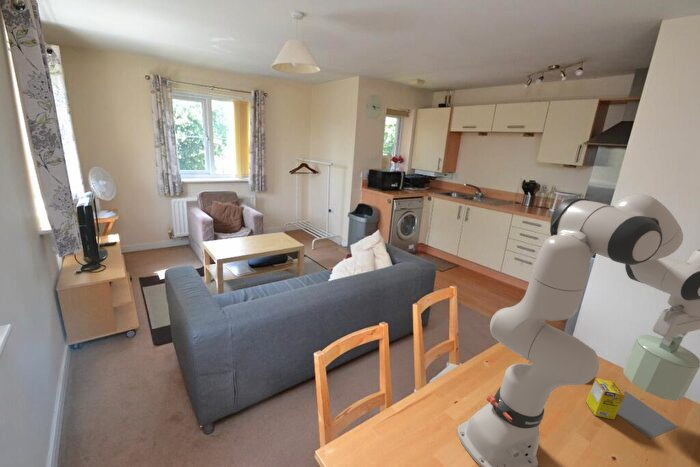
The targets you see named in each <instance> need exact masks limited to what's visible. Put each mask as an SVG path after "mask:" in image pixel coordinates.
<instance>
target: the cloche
mask: <svg viewBox="0 0 700 467" xmlns="http://www.w3.org/2000/svg"><path fill="white" fill-rule="evenodd" d="M663 339H664V337H663V336H662V337H659V336H655V335H649V334H642V335H641V334H640V335H638V337H637V338H636V339H635V341H634V343H633V346H632V347H631V349H630V352H629V354H628V356H627V359H626V361H625V363H624V366H623V375H624V376H625V377H626V378H627V380H629V382H630V383H632V384H633V385H635V386H636V387H638V388H640V389H641V390H643V391H644V392H646V393H648V394H651V395H653V396H655V397H658V398H660V399H663V400H669V401H674V402H677V401H680V400H682V399H683V398H684V397H685V395H686V394H687V392H688V390H689V388H690V386H691V384H692V383H693V381H694V378H696V377H695V376H696V375H697V373H698V371H699V369H700V358H699V357H698V356H697V355H696V354H695V353H694V352H692V351H690V350H689V349H687V348H686V347H684V346H682V345H681V343H682V342H683V339H684V337H683V338H682V337H680V336H678V335H675V337H674V338H673V341H674V342H673V343H672V345H670V346H667V345H665V344H663V343H662V341H663Z"/></svg>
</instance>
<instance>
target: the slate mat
mask: <svg viewBox="0 0 700 467" xmlns="http://www.w3.org/2000/svg"><path fill="white" fill-rule="evenodd" d="M622 392H623V393H624V394H625V397H624V399H623V401H622V404H621V406H620V408H619V410H618V412H617V415H616V416H619V417H620V418H621V419H623V420H624V421H625V422H626V423H628V424H629V425H630V426H632V427H633V428H634V429H635V430H637V431H638V432H640V433H641V434H642V435H644V436H645V437H646V438H648V440H652V439H654V438H656V437H658V436H661V435H663V434H665V433H667V432H670V431H671V430H674V429H676V428H678V425H676V424H675V423H673V422H672V421H671V420H669V419H667V418H666V417H665V416H664V415H661V414H660V413H659V412H658V411H656V410H654V409H653V408H651V407H650V406H648V404H646V403H644V402H643V401H641V400H640V399H638V398H637V397H635V396H634V395H633V394H631V393H629V392H628V391H625V390H624V391H622Z"/></svg>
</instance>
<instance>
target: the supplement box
mask: <svg viewBox="0 0 700 467" xmlns="http://www.w3.org/2000/svg"><path fill="white" fill-rule="evenodd" d="M593 380H594V381H593V383H592V386H591V389H590V391H589V393H588V396H587V398H586V401H585V403H586V405H587V406H588V408H589V410H590V411H591V413H592V414H593V416H594V417H598V418H602V419H607V420H611V421H615V419H616V416H618V415H617V412H618V410H619V408H620V406H621V404H622V401H623V399H624V397H625V394H624V393H623V392H624V391H622V389H621V388H620V387H619V385H618V384H617V383H616V381H613V380H612V381H611V380H607V379H603V378H597V377H595V378H594V379H593Z"/></svg>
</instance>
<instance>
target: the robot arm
mask: <svg viewBox="0 0 700 467" xmlns="http://www.w3.org/2000/svg"><path fill="white" fill-rule="evenodd" d="M549 224H550V225H549V226H550V227H549V231H550V232H549V233H550V236H549V237H548V238H546V240H545V241H544V242H543V243H542V246H541V248H540V249H539V251H538V253H537V256H536V258H535V261H534V264H533V266H532V272H531V274H530V278H529V282H528V286H527V288H526V291H525V294H524V296H523V297H522V299H521V300H520V301H519V302H518V303H516V304H515V305H513V306H508V307H503V308H501V309H498V310H497V311H496V312H495V313H494V314H493V316H492V317H491V320H490V323H489V330H490V334H491V336H492V337H493V338H494V339H495V340H497V341H498V343H500V345H502V346H504V347H505V348H506V349H508V350H509V351H511V352H513V353H515V354H517V355H518V356H520V357H522V358H523V359H525V360H526V361H528V362H529V363H531V364H529V363H514V364H511V365H510V366H508V367H507V369H506V370H505V372H504V375H503V379H502V381H501V385H500V386H499V388H498V389H497V390H496V392H495V394H494V396H493V395H492V394H488V395H487V397H486V399H485V400H486V401H487V402H488V403H487V404H485V405H484V406H483V407H482V408H480V409H479V410H478V411H477V412H475V413H474V414H473V415H471V417H470V418H469V419H468V420H466V421H465V422H463V423H460V424H459V425H458V427H457V429H456V431H457V435H458V436H457V437H458V438H459V440H460V442H461V444H462V446H463V447H464V449H465V450H466V452H467V453H468V454H469V456H470V457H471V458H472V459H473V460H474V461H475V462H476V463H477V464H478V465H479V466H480V467H538V465H539V460H538V458H537V454H538V449H539V444H540V439H541V434H540V424H541V423H542V420H543V418H544V415H545V406H546V403H547V401H548V398H549V397H550V395H551V393H553V391H554V390H556V389H557V388H560V387H563V386H581V385H586V384H588V383H590V382H592V381H593V380H595V378H596V377H597V375H598V372H599V370H600V369H599V368H600V360H599V356H598V354H597V352H596V350H594V349H593V348H592V347H590V346H589V345H587V344H586V343H585V342H583V341H582V340H580V339H579V338H577V337H576V336H573V335H572V334H569V333H567V332H565V331H563V330H561V329H559V328H557V327H555V326H553V325H550V324H549V323H547V322H546V321H552V322H556V321H564V320H568V319H570V318H573V317H574V316H575V315H576V313H577V312H578V309H579V306H580V303H581V300H582V297H583V293H584V291H585V288H586V284H587V281H588V277H589V272H590V267H591V265H590V264H591V259H592V258H593V257H594V256H595V255H599V256H602V257H605V258H608V259H610V260H611V261H613V262H616V263H619V264H623V265H624V266H625V273H626V275H627V277H628V278H629V279H630V280H633V281H635V282H638V283H641V284H644V285H647V286H649V287H651V288H654V289H656V290H659V291H662V292H663V293H666V294H668V295H670V296H669V298H668V300H667V304H668V305H669V306H670V307H669V308H666V309H664V310H662V311H660V313H659V315H658V317H657V319H656V320H655V323H654V324H653V326H652V331H653V333H655V334H657V335H659V336H661V337H662V338H663V337H664V339H663V341H662V343H663V344H665V345H667V346H670V345H672V343H673V342H674V341H673V338H674V337H675V335H678V336H680V337H682V338H683V339H684V338H685V336H686V335H688V333H690V332H694V331H698V330H700V249H695V250H694V251H693V252H692V253H691V254H690V256H689V258H688V260H687V261H685V262H684V261H682V260H678V259H675V258H672V257H669V256H671V255H672V254H674V253H675V252H676V251H677V250H678V249H680V247H681V245H682V244H683V241H684V233H683V229H682V227H681V226H680V223H679V222H678V221H677V219H676V218H675V216H674V215H673V214H672V213H671V210H669V209H668V208H667V206H666V205H664V204H663V203H662V202H660V201H659V200H658V199H657V198H655V197H653V196H652V195H649V194H648V195H647V194H643V193H642V194H641V193H639V194H638V193H636V194H629V195H627V196H624V197H622V198H620V199H619V200H617V201H616V202H615V203H614V204H613V205H610V204H606V203H602V202H599V201H591V200H589V199H588V198H579V197H571V198H568V199H567V198H566V199H565V200H563V201H561V203H559V204H557V206H556V207H555V209H553V212H552V214H551V217H550V223H549Z"/></svg>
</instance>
